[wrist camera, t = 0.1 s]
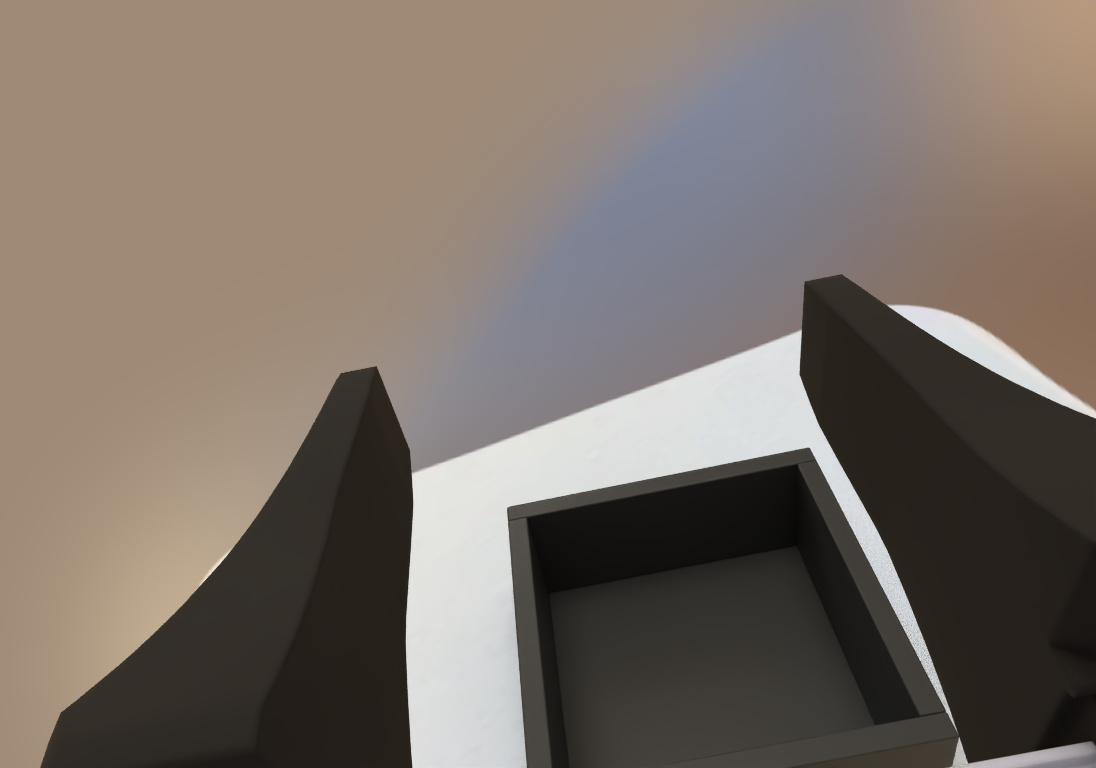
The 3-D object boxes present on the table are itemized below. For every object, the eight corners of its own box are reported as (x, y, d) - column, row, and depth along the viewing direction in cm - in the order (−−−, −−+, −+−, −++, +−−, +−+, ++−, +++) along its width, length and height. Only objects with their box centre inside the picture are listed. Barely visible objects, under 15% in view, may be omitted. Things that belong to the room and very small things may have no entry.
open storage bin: (939, 824, 27) (959, 736, 24) (562, 893, 28) (530, 815, 24) (808, 537, 37) (809, 446, 34) (532, 591, 38) (506, 506, 34)
